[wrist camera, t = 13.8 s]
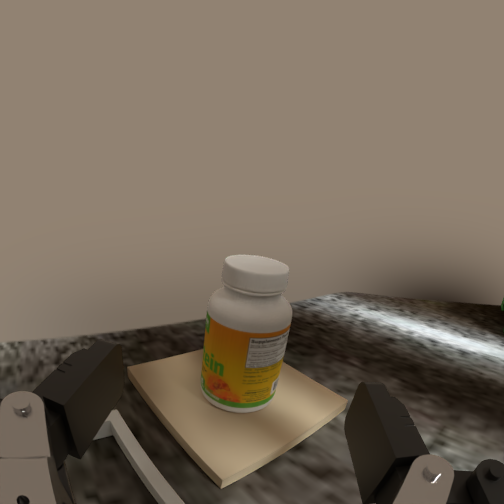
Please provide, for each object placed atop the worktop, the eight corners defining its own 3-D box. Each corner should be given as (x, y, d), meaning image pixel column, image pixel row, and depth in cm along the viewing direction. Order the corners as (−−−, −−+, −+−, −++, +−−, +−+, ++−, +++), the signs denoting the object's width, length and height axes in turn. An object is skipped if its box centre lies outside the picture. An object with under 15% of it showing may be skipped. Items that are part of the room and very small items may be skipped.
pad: (243, 346, 30) (244, 337, 29) (344, 409, 21) (347, 400, 21) (127, 376, 22) (127, 366, 21) (221, 488, 13) (222, 479, 13)
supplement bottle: (189, 375, 22) (199, 250, 20) (251, 366, 25) (270, 252, 23) (218, 422, 17) (236, 278, 15) (288, 404, 20) (319, 275, 18)
